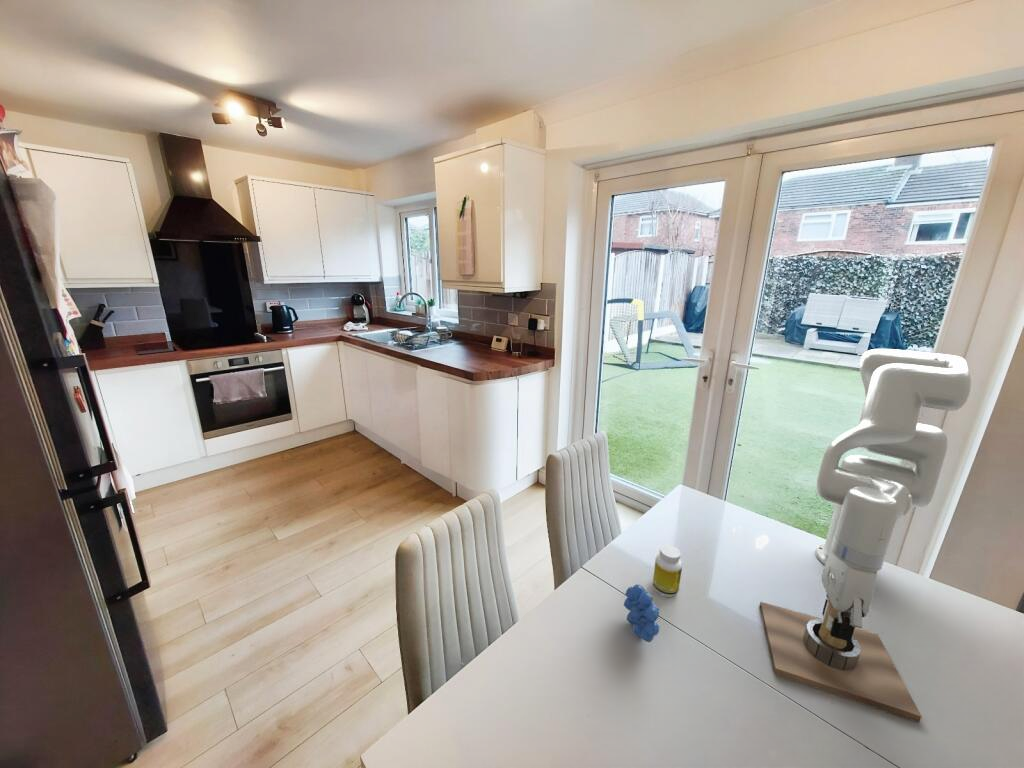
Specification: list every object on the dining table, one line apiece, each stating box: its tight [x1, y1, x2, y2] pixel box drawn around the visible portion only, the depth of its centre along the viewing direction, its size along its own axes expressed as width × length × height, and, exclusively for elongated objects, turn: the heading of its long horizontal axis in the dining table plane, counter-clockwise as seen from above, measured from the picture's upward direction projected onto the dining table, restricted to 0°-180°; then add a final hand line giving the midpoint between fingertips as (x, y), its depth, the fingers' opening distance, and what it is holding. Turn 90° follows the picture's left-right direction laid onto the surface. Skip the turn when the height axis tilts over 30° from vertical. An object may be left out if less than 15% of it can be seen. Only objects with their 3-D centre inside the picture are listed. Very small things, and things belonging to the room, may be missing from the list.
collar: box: [803, 618, 861, 671], centre depth 81 cm, size 9×9×4 cm
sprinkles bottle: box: [819, 599, 851, 649], centre depth 79 cm, size 5×5×13 cm
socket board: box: [758, 601, 922, 723], centre depth 82 cm, size 18×22×2 cm
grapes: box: [623, 584, 660, 643], centre depth 85 cm, size 12×7×12 cm, turn 12°
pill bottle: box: [652, 544, 683, 598], centre depth 98 cm, size 6×6×11 cm
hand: (835, 626), depth 80 cm, fingers closed on sprinkles bottle, 4 cm apart
